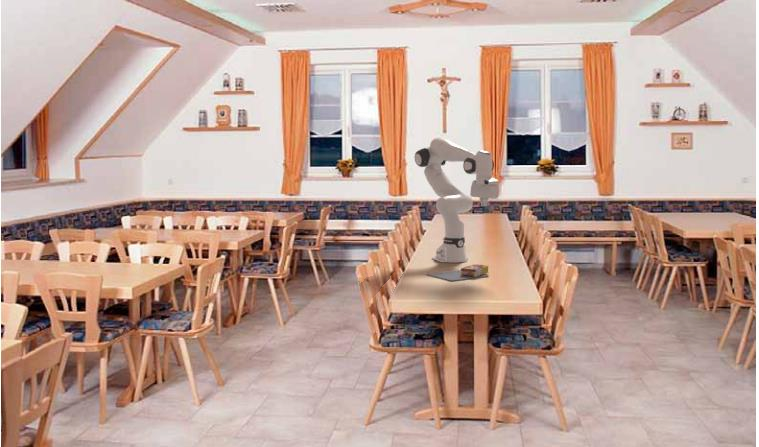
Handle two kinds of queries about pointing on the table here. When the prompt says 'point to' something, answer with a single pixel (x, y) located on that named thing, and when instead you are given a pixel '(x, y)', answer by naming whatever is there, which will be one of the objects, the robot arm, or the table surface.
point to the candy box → (474, 270)
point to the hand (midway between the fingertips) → (484, 206)
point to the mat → (454, 276)
